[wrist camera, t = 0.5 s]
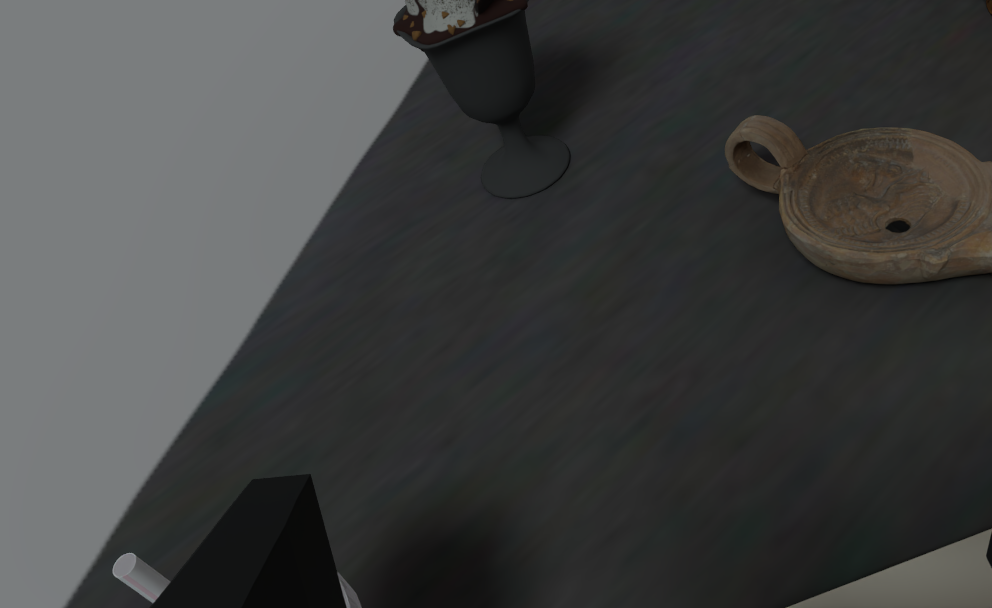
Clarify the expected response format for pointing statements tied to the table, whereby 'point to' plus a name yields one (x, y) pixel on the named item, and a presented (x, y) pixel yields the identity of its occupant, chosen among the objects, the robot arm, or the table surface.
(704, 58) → the table surface
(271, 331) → the table surface
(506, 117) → the sundae
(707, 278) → the table surface
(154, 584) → the smoothie
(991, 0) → the disposable coffee cup
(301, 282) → the table surface
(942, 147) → the oil lamp
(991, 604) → the board
